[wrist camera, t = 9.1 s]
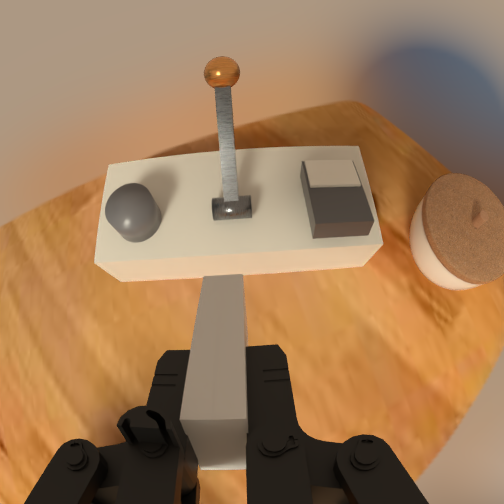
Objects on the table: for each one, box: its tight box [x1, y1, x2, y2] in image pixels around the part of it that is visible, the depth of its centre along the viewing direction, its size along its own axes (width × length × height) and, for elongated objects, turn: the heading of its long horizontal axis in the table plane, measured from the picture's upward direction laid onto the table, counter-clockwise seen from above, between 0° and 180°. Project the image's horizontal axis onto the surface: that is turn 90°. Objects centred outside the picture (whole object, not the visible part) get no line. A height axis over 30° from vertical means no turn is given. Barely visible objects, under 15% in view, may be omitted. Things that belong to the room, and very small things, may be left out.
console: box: [94, 146, 383, 282], centre depth 30 cm, size 24×10×6 cm, turn 93°
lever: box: [204, 56, 252, 221], centre depth 23 cm, size 3×3×13 cm
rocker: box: [300, 160, 374, 239], centre depth 24 cm, size 4×6×2 cm
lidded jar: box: [409, 173, 504, 290], centre depth 26 cm, size 11×11×9 cm
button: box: [105, 183, 161, 243], centre depth 25 cm, size 4×4×3 cm
